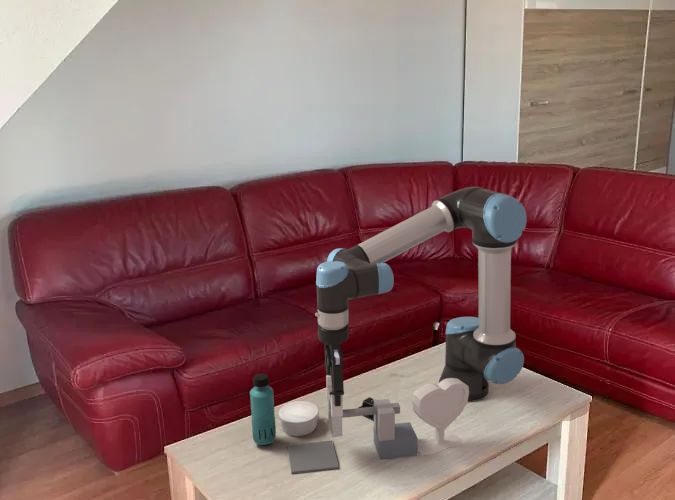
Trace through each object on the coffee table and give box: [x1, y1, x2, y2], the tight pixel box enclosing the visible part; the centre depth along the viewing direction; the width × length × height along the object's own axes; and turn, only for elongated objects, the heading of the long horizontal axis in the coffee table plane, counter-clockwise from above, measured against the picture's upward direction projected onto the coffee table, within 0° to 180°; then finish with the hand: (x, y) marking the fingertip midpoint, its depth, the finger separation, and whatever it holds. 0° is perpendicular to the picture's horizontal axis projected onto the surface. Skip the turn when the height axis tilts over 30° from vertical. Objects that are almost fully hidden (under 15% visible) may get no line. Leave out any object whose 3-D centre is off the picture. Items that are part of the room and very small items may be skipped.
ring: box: [326, 385, 343, 438], centre depth 171 cm, size 2×8×10 cm, turn 9°
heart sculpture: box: [411, 378, 469, 456], centre depth 176 cm, size 16×5×18 cm, turn 117°
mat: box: [287, 440, 340, 475], centre depth 174 cm, size 12×12×1 cm
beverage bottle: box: [249, 373, 277, 446], centre depth 178 cm, size 6×7×20 cm
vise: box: [342, 398, 419, 460], centre depth 175 cm, size 21×8×14 cm, turn 99°
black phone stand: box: [358, 396, 375, 422], centre depth 194 cm, size 12×7×5 cm, turn 47°
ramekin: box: [278, 400, 320, 437], centre depth 188 cm, size 11×11×5 cm
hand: (334, 406), depth 171 cm, fingers closed on ring, 8 cm apart
